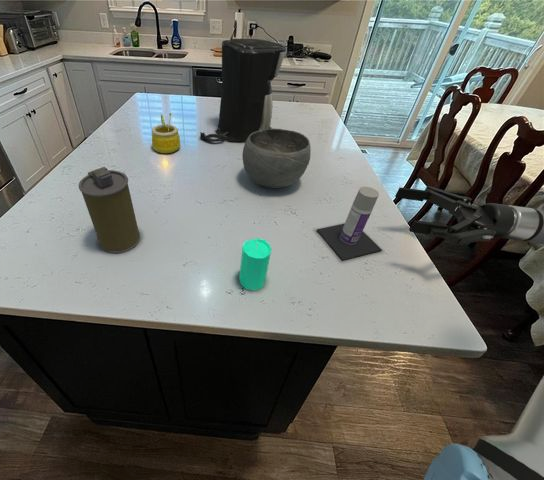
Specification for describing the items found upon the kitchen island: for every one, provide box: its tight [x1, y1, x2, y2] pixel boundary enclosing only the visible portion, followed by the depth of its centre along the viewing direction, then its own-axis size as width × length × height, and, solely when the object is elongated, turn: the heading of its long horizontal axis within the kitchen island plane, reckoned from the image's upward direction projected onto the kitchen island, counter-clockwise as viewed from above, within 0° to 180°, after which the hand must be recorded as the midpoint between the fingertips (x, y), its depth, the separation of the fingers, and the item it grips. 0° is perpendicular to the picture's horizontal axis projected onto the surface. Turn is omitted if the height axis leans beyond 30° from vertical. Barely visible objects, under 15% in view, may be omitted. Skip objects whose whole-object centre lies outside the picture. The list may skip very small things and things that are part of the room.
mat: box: [316, 222, 383, 262], centre depth 79 cm, size 12×12×1 cm
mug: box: [151, 112, 181, 154], centre depth 112 cm, size 13×11×12 cm
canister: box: [78, 166, 141, 254], centre depth 70 cm, size 11×10×20 cm
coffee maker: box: [199, 38, 287, 143], centre depth 116 cm, size 23×32×34 cm
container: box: [340, 186, 380, 245], centre depth 74 cm, size 5×5×15 cm
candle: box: [238, 237, 272, 291], centre depth 64 cm, size 6×6×12 cm
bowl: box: [241, 128, 312, 189], centre depth 95 cm, size 21×21×15 cm
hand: (404, 208), depth 70 cm, fingers open, 13 cm apart
